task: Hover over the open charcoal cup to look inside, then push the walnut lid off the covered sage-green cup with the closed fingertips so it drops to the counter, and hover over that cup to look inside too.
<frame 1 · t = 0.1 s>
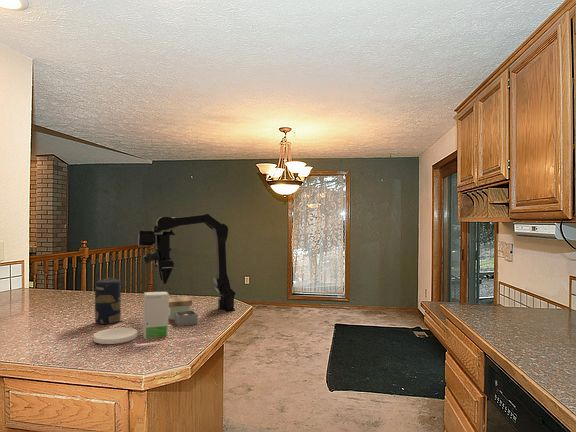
hand: (163, 281, 172), 15 cm above the table, tool pointing down, fingers open, 9 cm apart
plastic lid: (115, 341, 139), on the table
canister: (107, 322, 162), on the table
lid: (178, 304, 169), point 6 cm above the table, touching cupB
skincare box: (155, 337, 142), on the table
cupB: (178, 318, 169), on the table
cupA: (185, 324, 159), on the table
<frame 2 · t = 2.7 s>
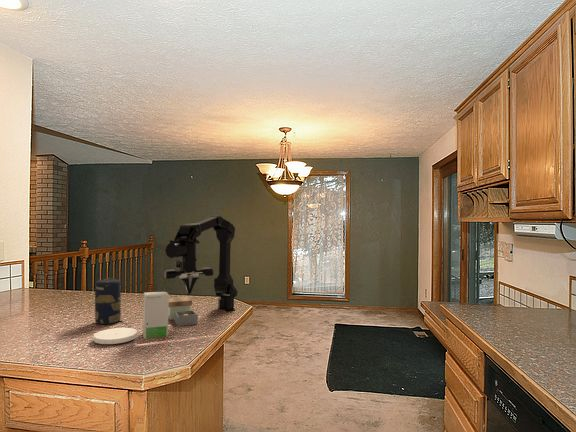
hand: (189, 294, 161), 12 cm above the table, tool pointing down, fingers closed
nothing on the table moved.
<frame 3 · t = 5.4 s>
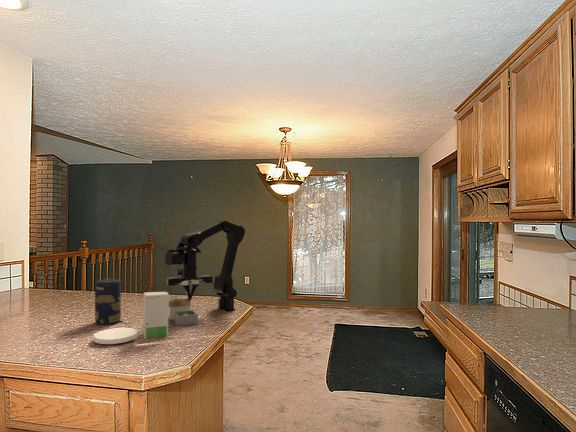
hand: (189, 300, 171), 7 cm above the table, tool pointing down, fingers closed
lid: (176, 304, 168), point 6 cm above the table, touching gripper
everything else where it was.
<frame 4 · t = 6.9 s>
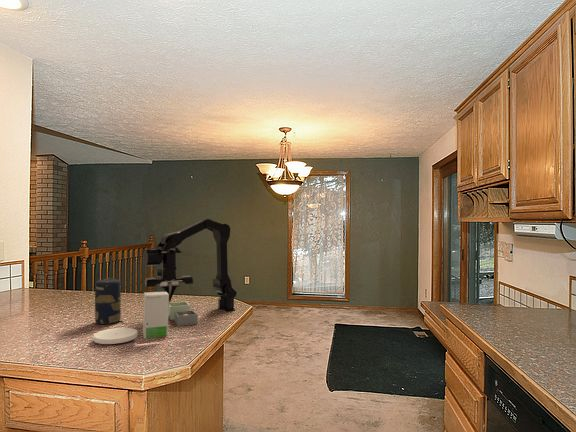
hand: (169, 301, 167), 7 cm above the table, tool pointing down, fingers closed
lid: (161, 310, 166), point 4 cm above the table, tilted 54°, touching gripper
everything else where it was.
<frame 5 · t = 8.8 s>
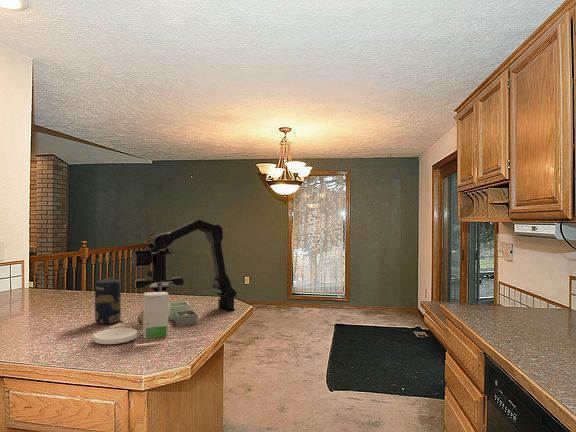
hand: (159, 303, 165), 7 cm above the table, tool pointing down, fingers closed
lid: (150, 312, 164), point 4 cm above the table, tilted 51°, touching gripper
everything else where it was.
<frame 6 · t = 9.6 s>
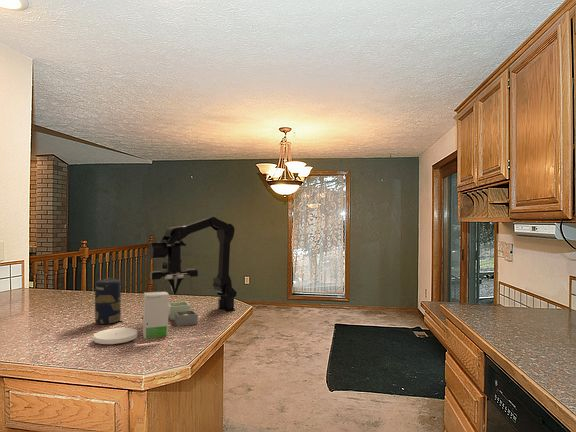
hand: (174, 294, 168), 10 cm above the table, tool pointing down, fingers closed
lid: (155, 321, 165), on the table
everything else where it was.
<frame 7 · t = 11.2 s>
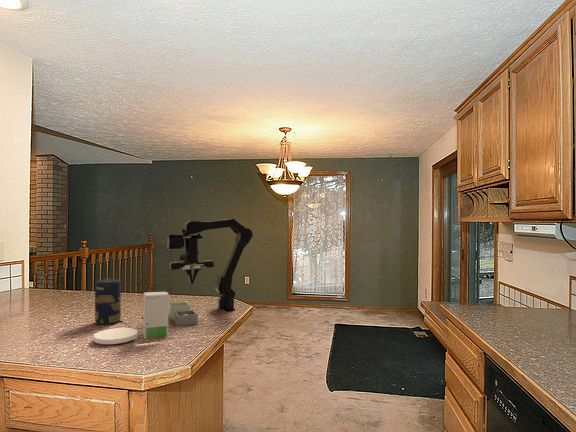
hand: (191, 284, 178), 13 cm above the table, tool pointing down, fingers closed
nothing on the table moved.
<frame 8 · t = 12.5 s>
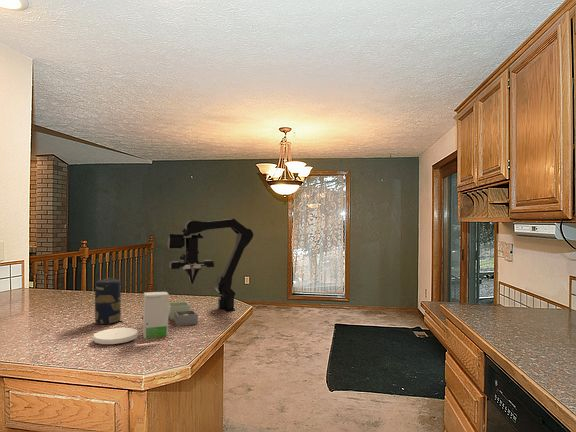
hand: (191, 283, 178), 13 cm above the table, tool pointing down, fingers closed
nothing on the table moved.
at the end: lid inside the target area on the table beside the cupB (5.4 cm from its centre), on the table; lid moved 11.3 cm from its start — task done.
